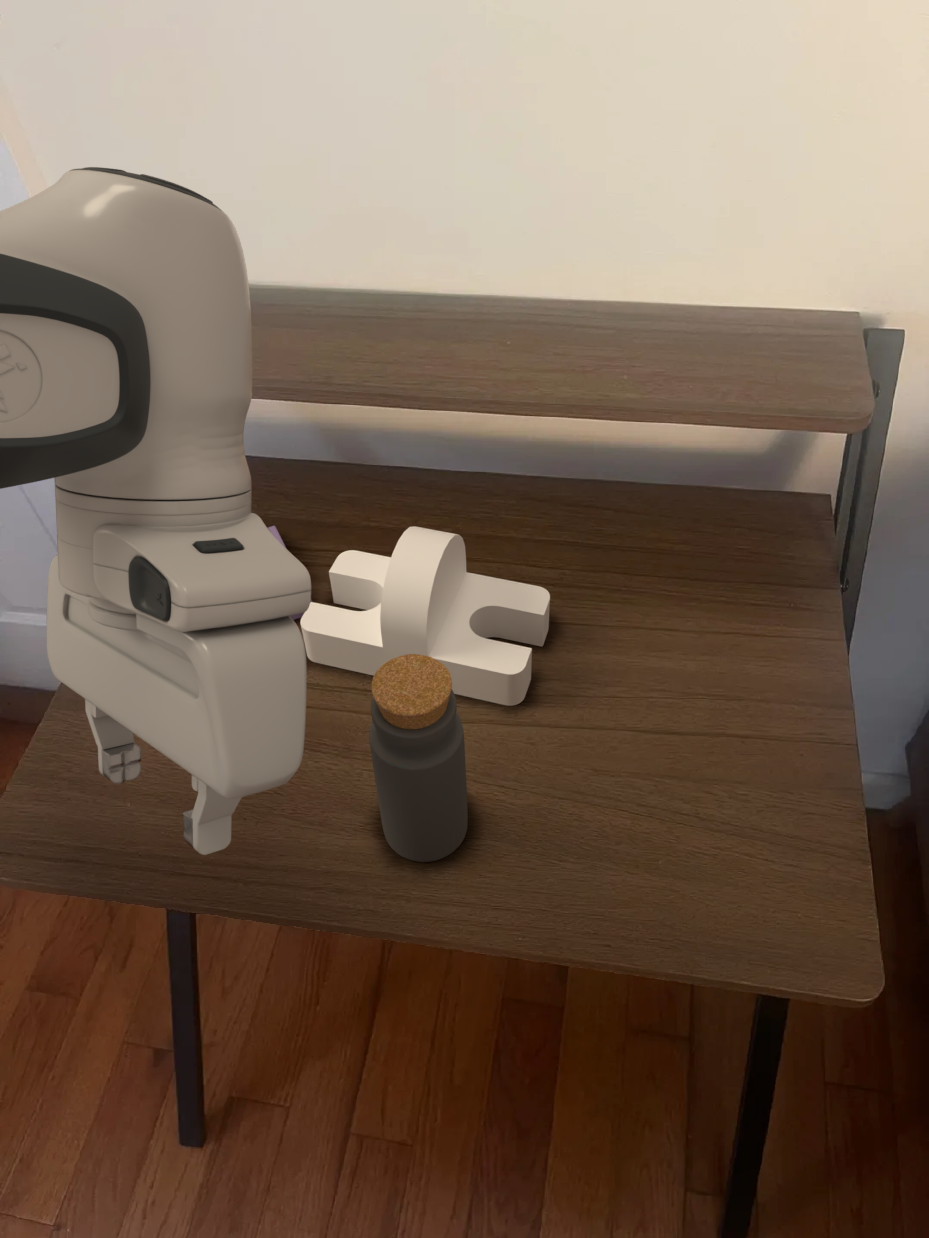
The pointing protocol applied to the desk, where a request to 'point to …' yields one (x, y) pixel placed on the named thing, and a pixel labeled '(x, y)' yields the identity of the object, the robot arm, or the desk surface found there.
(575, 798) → the desk surface
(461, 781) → the bottle
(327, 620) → the white slotted bracket
